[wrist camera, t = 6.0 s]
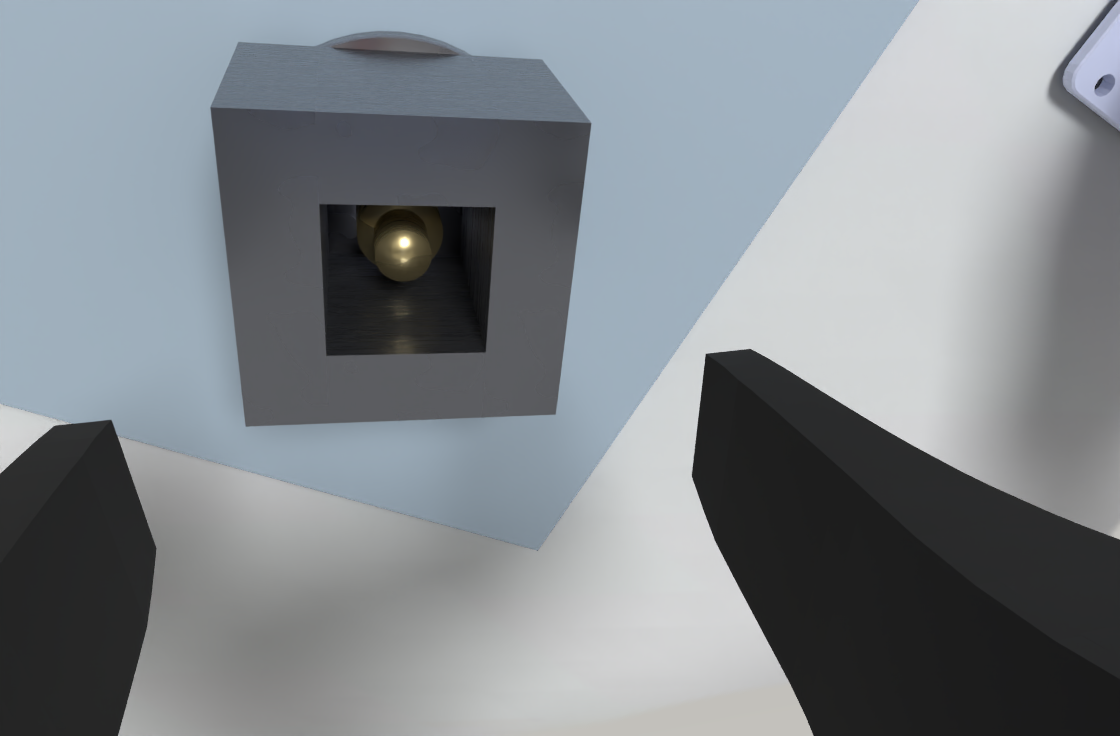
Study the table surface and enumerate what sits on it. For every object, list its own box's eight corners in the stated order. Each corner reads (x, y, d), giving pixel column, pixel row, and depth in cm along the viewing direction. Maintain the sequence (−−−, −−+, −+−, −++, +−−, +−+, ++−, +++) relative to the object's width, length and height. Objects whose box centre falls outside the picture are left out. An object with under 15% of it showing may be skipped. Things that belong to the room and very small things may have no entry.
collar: (542, 59, 17) (591, 122, 13) (519, 311, 19) (555, 414, 16) (237, 41, 15) (210, 107, 12) (262, 314, 18) (245, 426, 15)
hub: (600, 123, 18) (642, 176, 16) (462, 362, 21) (479, 441, 18) (303, -36, 15) (296, -4, 13) (186, 261, 18) (160, 337, 15)
